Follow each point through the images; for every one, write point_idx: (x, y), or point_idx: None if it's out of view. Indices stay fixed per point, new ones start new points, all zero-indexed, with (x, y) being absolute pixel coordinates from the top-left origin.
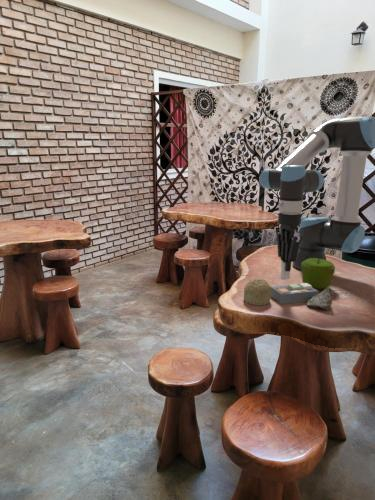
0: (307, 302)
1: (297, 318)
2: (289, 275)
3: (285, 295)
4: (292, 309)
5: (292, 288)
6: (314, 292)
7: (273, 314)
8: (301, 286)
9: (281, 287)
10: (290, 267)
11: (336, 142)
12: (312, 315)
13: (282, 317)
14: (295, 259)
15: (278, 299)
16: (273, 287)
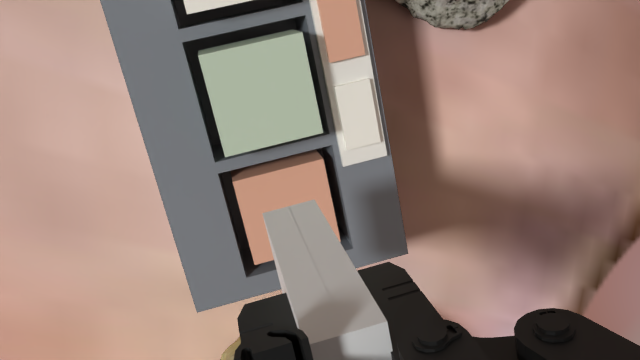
0: (402, 2)
1: (620, 178)
2: (326, 223)
3: (400, 220)
4: (483, 167)
5: (310, 132)
6: None
7: None
8: (243, 1)
9: (215, 213)
10: (418, 292)
11: None
12: (600, 52)
13: (588, 270)
14: (603, 336)
15: None
16: (215, 291)
